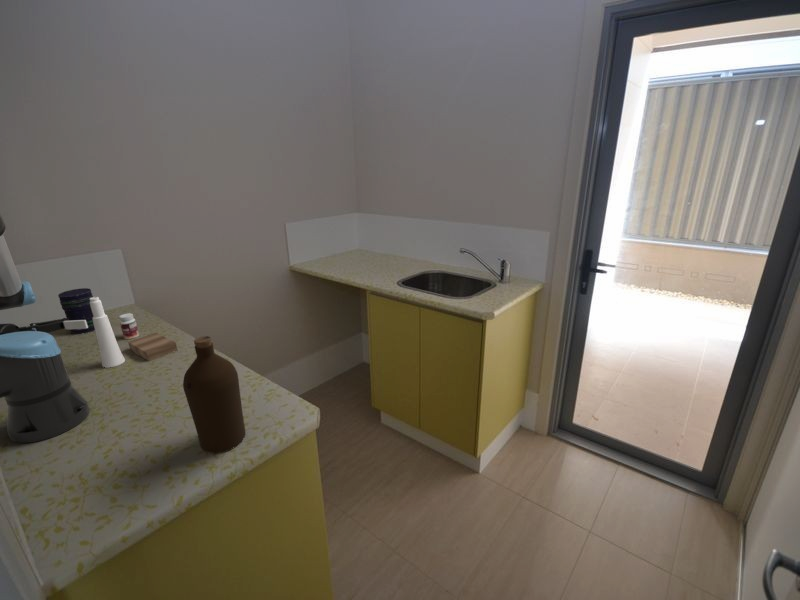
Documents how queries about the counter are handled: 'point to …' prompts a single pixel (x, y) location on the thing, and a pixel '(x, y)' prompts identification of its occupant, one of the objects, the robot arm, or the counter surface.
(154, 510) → the counter surface
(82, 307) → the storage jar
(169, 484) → the counter surface
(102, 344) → the cosmetic bottle
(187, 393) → the olive oil
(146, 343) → the walnut board
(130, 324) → the pill bottle
